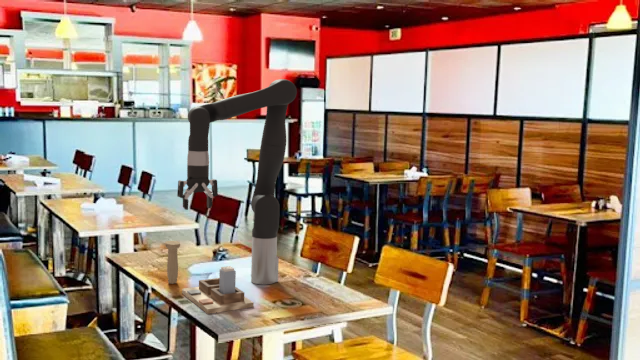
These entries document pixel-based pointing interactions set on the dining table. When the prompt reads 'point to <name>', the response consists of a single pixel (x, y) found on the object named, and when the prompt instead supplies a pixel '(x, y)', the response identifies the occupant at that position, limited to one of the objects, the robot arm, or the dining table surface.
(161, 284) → the dining table surface
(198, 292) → the socket board
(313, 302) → the dining table surface
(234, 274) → the plug
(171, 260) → the handle
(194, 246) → the dining table surface
